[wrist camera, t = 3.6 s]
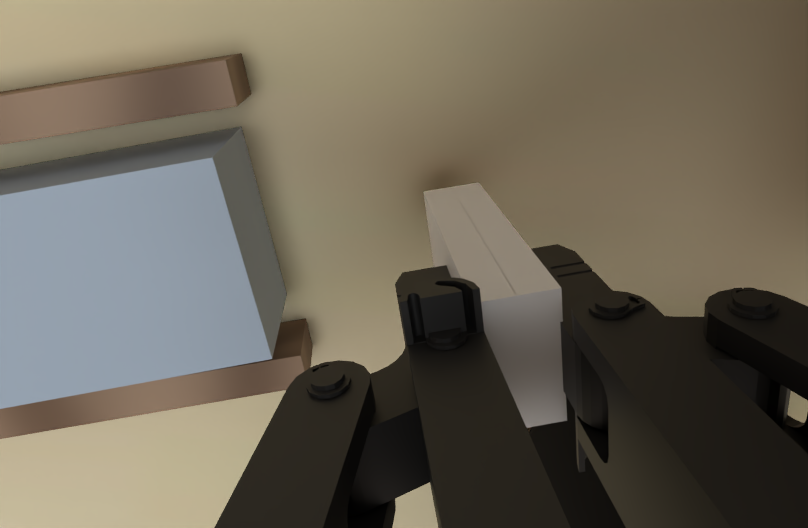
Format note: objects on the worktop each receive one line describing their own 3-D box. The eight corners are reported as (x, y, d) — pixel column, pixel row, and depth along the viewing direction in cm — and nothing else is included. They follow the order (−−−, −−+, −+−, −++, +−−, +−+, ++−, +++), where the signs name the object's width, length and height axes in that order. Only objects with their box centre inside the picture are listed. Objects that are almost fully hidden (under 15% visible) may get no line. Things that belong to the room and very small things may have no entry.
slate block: (242, 125, 19) (212, 157, 15) (287, 291, 21) (272, 359, 17) (-38, 175, 19) (-147, 221, 15) (39, 336, 21) (-36, 415, 17)
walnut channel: (241, 53, 18) (225, 59, 16) (312, 346, 22) (308, 386, 20) (-296, 139, 18) (-393, 158, 15) (-121, 420, 22) (-176, 468, 19)
